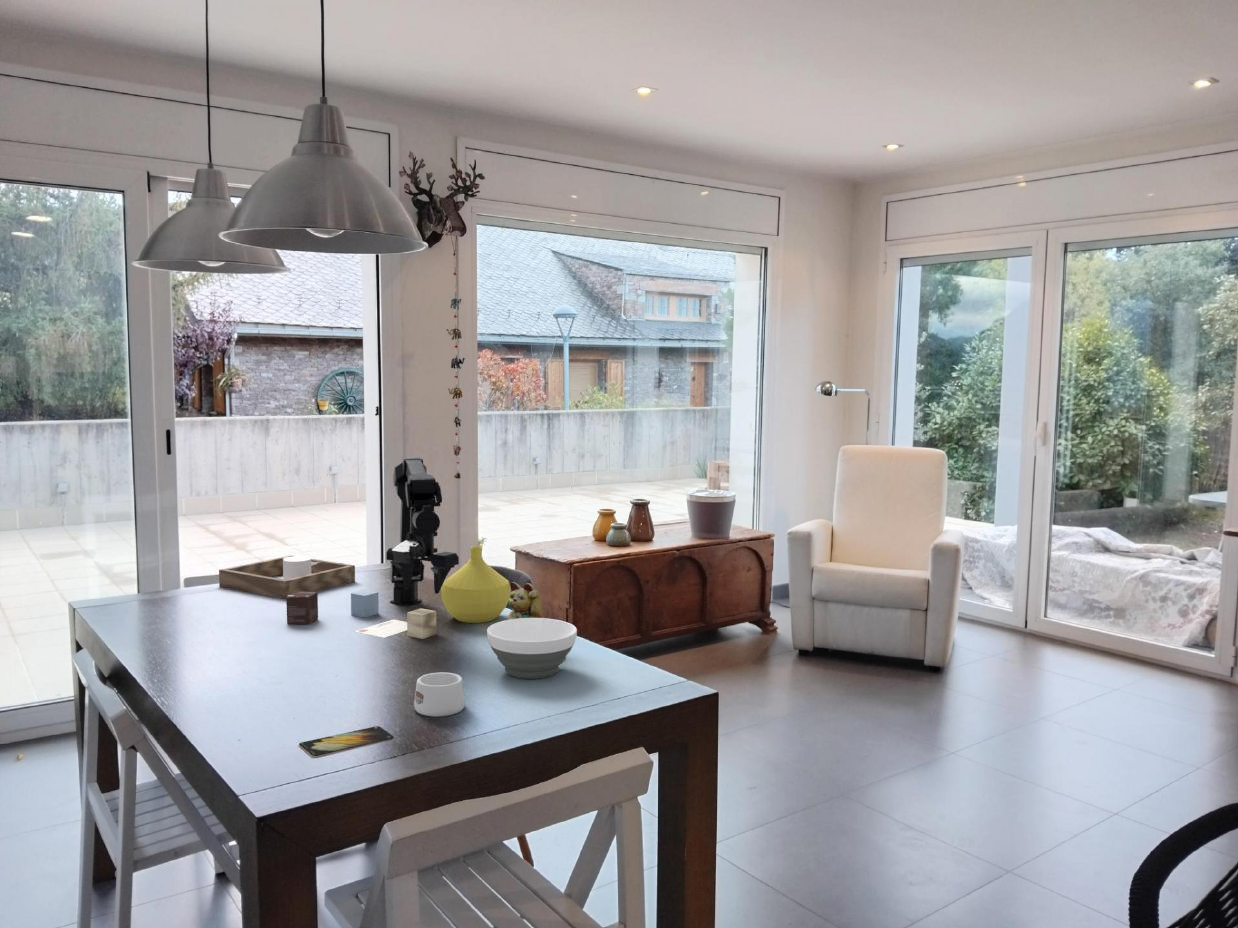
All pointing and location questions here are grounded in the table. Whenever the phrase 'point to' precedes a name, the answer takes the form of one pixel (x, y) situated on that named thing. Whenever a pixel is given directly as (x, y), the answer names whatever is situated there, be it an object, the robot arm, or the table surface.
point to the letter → (385, 628)
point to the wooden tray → (261, 582)
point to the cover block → (421, 623)
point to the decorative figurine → (524, 602)
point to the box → (302, 607)
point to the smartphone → (345, 741)
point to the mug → (439, 694)
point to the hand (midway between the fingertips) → (422, 591)
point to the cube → (364, 603)
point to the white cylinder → (297, 566)
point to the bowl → (531, 645)
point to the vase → (475, 591)
